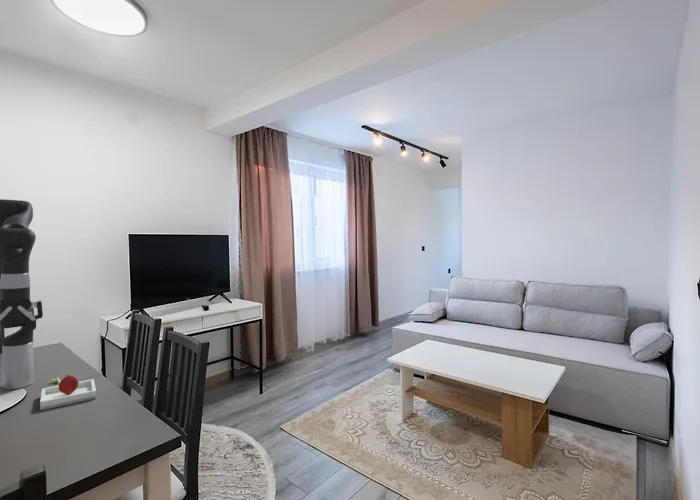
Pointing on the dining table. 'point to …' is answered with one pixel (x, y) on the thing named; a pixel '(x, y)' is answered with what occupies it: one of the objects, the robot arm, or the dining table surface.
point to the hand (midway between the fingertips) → (15, 332)
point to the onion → (68, 384)
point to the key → (56, 380)
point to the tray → (56, 398)
